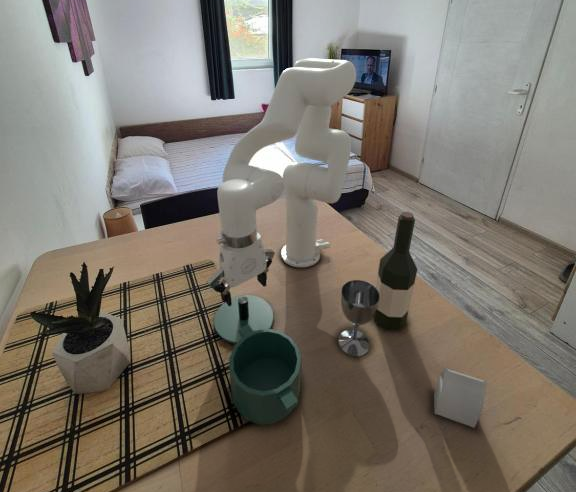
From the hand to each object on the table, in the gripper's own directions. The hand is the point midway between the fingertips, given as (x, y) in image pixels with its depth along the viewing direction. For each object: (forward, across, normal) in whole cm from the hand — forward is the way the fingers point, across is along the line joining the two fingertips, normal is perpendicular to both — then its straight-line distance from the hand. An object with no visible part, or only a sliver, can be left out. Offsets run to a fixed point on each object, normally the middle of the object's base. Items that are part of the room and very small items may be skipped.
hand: (245, 292), depth 78 cm
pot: (+8, -6, -18) cm, 20 cm away
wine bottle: (+9, +28, -22) cm, 37 cm away
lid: (+7, -1, -1) cm, 8 cm away
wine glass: (+9, +16, -22) cm, 28 cm away
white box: (+8, +20, -43) cm, 48 cm away
